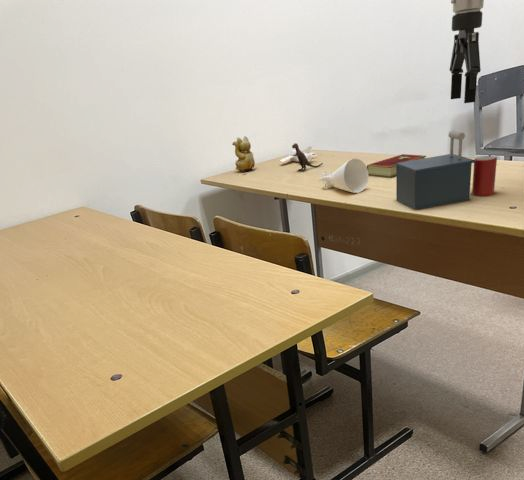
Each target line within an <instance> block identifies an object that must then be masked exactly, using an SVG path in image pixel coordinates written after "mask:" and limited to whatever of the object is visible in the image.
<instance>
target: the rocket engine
mask: <svg viewBox="0 0 524 480" xmlns="http://www.w3.org/2000/svg"><path fill="white" fill-rule="evenodd" d="M369 177H370V176H369V175H368V169H367V165H366V163H365V161H363V160H362V159H360V158H357V157H355V158H354V157H353V158H351V159H348V160H347V161H346V162H344V163H343V164H342V165H341V166H340V167H338V168H337V169H336V170H335V171H333V172H332V173H328V172H327V171H323V173H322V176H320V177H319V178H318V181H319V182H323V184H324V185H323V189H324V190H327V189H328V190H329V189H330V188H332V187H334V188H336V189H340V190H342V191H345V192H349V193H354V194H358V193H362V192H363V191H364V190H365V189H366V187H367V186H368V183H369Z"/></svg>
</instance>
